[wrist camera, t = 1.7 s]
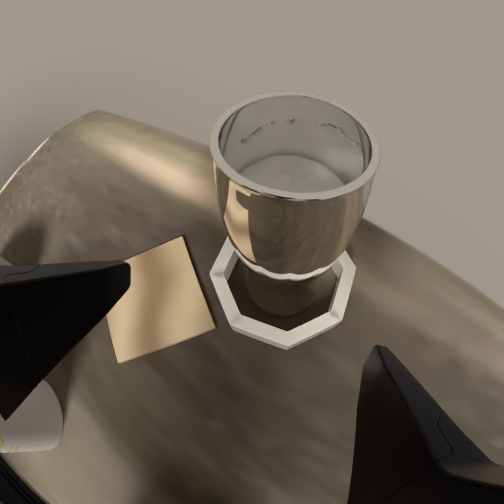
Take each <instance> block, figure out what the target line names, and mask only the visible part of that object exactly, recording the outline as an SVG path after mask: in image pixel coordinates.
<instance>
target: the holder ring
mask: <svg viewBox="0 0 504 504" xmlns="http://www.w3.org/2000/svg"><path fill="white" fill-rule="evenodd" d="M238 257H239V256H238V255H237V253H236V251H235V249H234V247H233V246H232V244H231V242H230V240H229V238H228V237H227V239H226V241H225V243H224V245H223V247H222V249H221V251H220V253H219V255H218V257H217V259H216V261H215V263H214V265H213V267H212V269H211V271H210V273H209V274H210V277H211V279H212V282H213V284H214V287H215V289H216V292H217V294H218V297H219V299H220V302H221V304H222V307H223V309H224V312H225V314H226V317H227V319H228V321H229V324H230V326H231V327H232V329H233V330H234V331H236V332H239V333H241V334H244V335H247V336H249V337H252V338H254V339H257V340H260V341H263V342H265V343H268V344H271V345H274V346H276V347H279V348H282V349H285V350H288V349H290V348H292V347H294V346H296V345H298V344H301V343H303V342H305V341H307V340H309V339H311V338H313V337H315V336H317V335H319V334H321V333H323V332H325V331H327V330H329V329H331V328H333V327H335V326H336V325H338V324H339V323H340V322H341V321H342V319H343V315H344V312H345V308H346V305H347V301H348V298H349V294H350V290H351V286H352V282H353V278H354V274H355V270H356V267H355V265H354V263H353V262H352V260H351V259H350V257H349V255H348V254H347V252H346V250H345V251H344V252H343V254H342V255H341V256H340V257H339V259H338V260H337V261H336V262H335V263H334V264H333V266H332V269H333V271H334V272H335V274H336V276H337V278H338V279H337V283H336V286H335V290H334V293H333V296H332V300H331V303H330V306H329V309H328V312H327V313H325V314H323V315H321V316H319V317H317V318H315V319H313V320H311V321H309V322H307V323H305V324H303V325H301V326H298V327H296V328H294V329H292V330H290V331H288V332H287V331H284V330H282V329H279V328H276V327H273V326H270V325H268V324H265V323H262V322H259V321H257V320H254V319H251V318H248V317H246V316H243V315H241V314H240V312H239V310H238V307H237V305H236V303H235V300H234V298H233V296H232V293H231V291H230V289H229V286H228V284H227V281H228V279H229V277H230V275H231V272H232V270H233V268H234V266H235V264H236V262H237V260H238Z"/></svg>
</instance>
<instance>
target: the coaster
mask: <svg viewBox="0 0 504 504" xmlns="http://www.w3.org/2000/svg"><path fill="white" fill-rule="evenodd" d="M125 262H127V263H129V264H130V266H131V285H130V288H129V289H128V291H127V292H126V293H125V294H124V295H123V296H122V297H121V299H120V300H119V301H118V302H117V303H116V304H115V306H114V307H113V308H112V309H111V310H110V312H109V313H108V314H107V319H108V324H109V329H110V333H111V337H112V341H113V346H114V349H115V353H116V357H117V361H118V363H123V362H126V361H129V360H132V359H135V358H137V357H140V356H143V355H146V354H149V353H152V352H155V351H157V350H160V349H163V348H166V347H168V346H171V345H174V344H177V343H179V342H182V341H185V340H187V339H190V338H192V337H195V336H198V335H200V334H203V333H205V332H208V331H210V330H213V329H215V328H216V327H215V324H214V322H213V319H212V316H211V314H210V311H209V309H208V306H207V303H206V301H205V298H204V296H203V293H202V290H201V287H200V285H199V282H198V279H197V276H196V274H195V271H194V268H193V265H192V262H191V260H190V257H189V254H188V251H187V248H186V245H185V242H184V239H183V237H182V236H181V237H179V238H176V239H174V240H172V241H169V242H167V243H165V244H162V245H160V246H157V247H155V248H153V249H150V250H148V251H146V252H143V253H141V254H139V255H136V256H134V257H132V258H130V259H127V260H125Z"/></svg>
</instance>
